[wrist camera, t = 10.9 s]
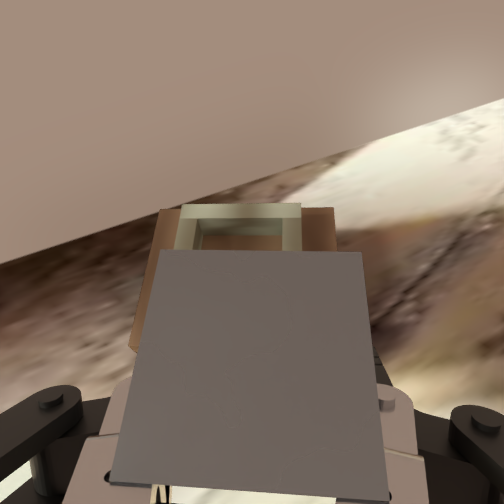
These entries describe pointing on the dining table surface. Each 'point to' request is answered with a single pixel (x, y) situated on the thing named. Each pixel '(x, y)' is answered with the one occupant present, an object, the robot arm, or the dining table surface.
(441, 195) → the dining table surface
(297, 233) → the stand
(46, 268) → the dining table surface
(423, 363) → the dining table surface
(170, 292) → the peg
